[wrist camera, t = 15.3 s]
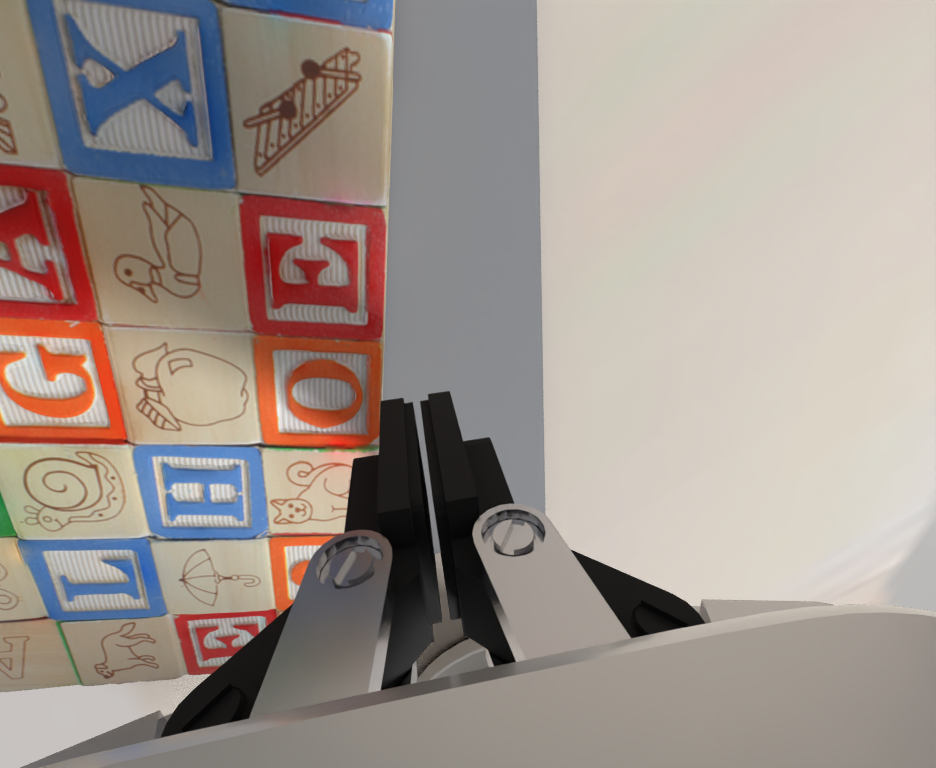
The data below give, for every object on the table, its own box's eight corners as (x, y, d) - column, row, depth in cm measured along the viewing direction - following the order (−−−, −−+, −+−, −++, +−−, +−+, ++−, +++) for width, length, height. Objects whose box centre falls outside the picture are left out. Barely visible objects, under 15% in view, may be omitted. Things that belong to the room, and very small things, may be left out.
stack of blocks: (404, -48, 13) (-143, -165, 10) (414, -214, 7) (-762, -544, 5) (377, 539, 22) (81, 544, 19) (372, 670, 16) (-45, 699, 14)
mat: (543, 527, 23) (545, 532, 23) (219, 586, 22) (216, 593, 21) (532, -27, 14) (536, -31, 13) (-57, 8, 12) (-70, 4, 12)
